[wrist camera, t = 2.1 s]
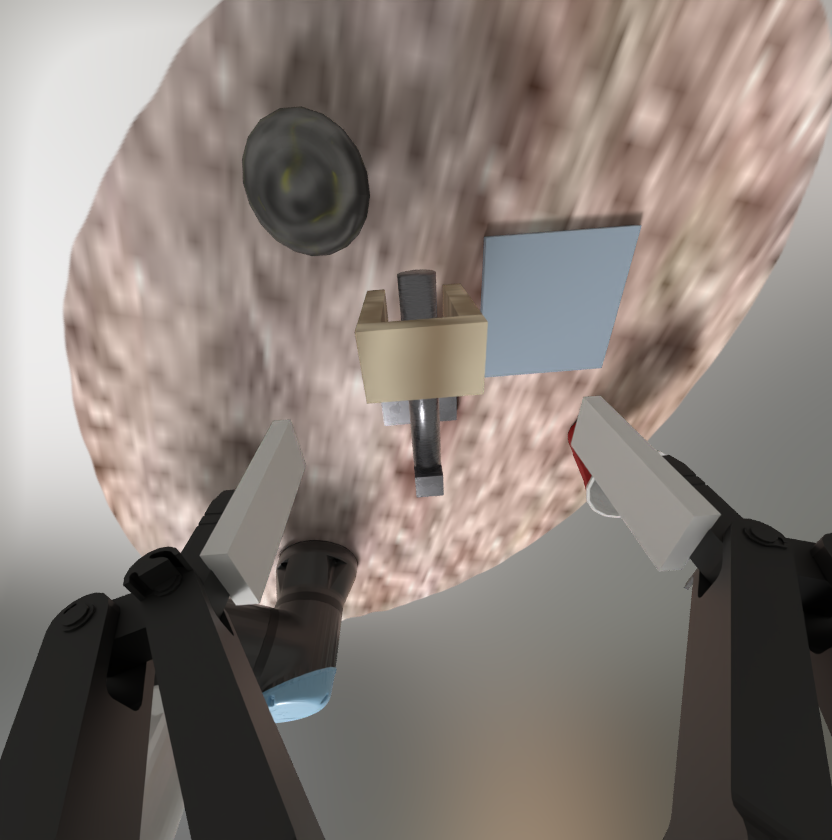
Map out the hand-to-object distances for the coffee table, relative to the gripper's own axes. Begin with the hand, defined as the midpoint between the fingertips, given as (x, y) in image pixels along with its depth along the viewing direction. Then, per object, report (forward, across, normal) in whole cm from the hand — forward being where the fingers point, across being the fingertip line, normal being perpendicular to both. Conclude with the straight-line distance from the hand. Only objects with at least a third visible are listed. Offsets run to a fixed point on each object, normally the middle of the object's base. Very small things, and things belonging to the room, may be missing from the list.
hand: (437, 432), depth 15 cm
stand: (+27, 0, +6) cm, 27 cm away
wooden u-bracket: (+18, 0, 0) cm, 18 cm away
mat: (+27, -16, +3) cm, 31 cm away
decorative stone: (+27, +8, -10) cm, 30 cm away
